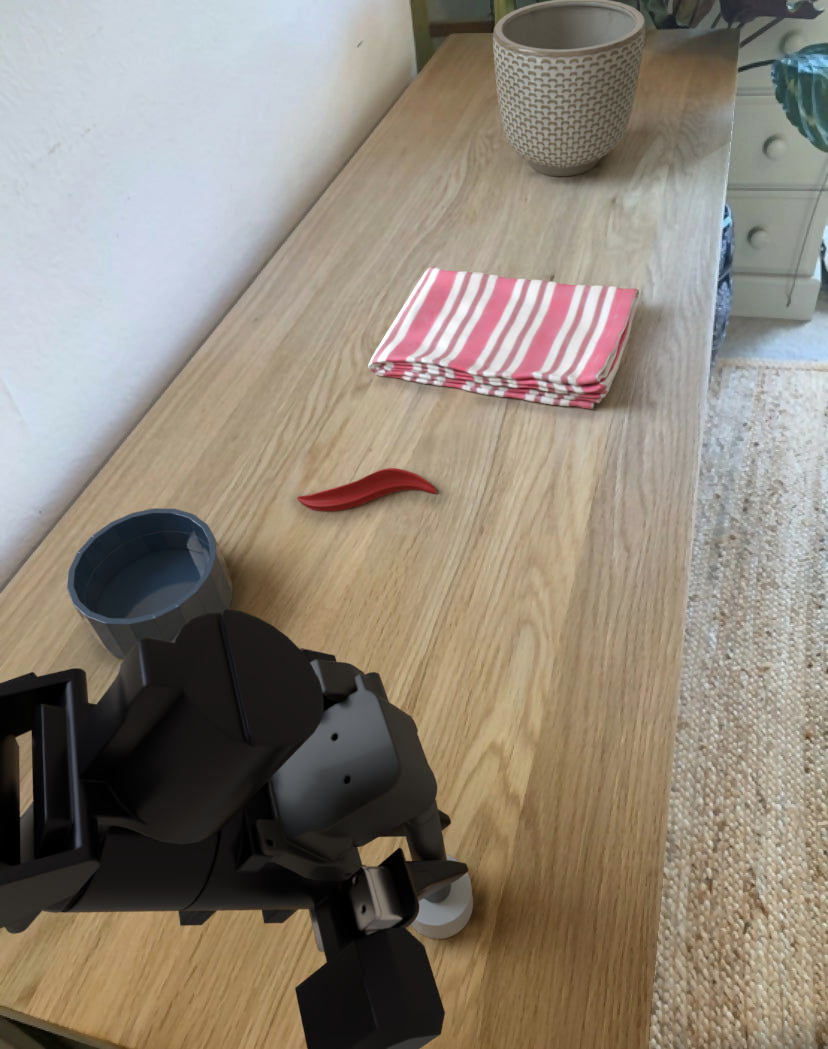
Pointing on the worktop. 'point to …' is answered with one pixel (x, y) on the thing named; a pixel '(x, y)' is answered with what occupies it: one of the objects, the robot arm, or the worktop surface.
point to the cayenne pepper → (366, 490)
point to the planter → (567, 80)
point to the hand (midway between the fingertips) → (453, 847)
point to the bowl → (148, 578)
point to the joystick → (450, 903)
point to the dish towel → (509, 337)
